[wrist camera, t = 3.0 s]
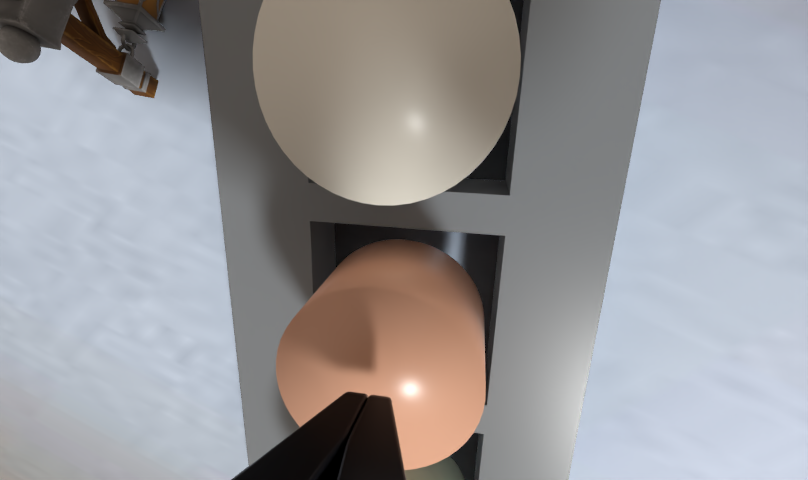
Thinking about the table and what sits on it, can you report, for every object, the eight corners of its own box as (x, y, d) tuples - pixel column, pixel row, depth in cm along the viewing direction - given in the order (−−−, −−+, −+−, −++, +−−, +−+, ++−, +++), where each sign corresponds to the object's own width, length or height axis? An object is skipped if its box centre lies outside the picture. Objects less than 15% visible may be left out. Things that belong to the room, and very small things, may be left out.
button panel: (644, -75, 10) (682, -115, 8) (537, 536, 16) (545, 594, 14) (236, -64, 11) (187, -96, 9) (280, 491, 17) (256, 538, 15)
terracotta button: (491, 246, 11) (495, 298, 8) (476, 394, 12) (475, 485, 9) (321, 232, 11) (268, 277, 8) (326, 375, 13) (282, 454, 10)
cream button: (519, -33, 9) (537, -96, 6) (498, 182, 10) (505, 214, 7) (312, -30, 9) (241, -85, 7) (319, 171, 11) (262, 197, 8)
